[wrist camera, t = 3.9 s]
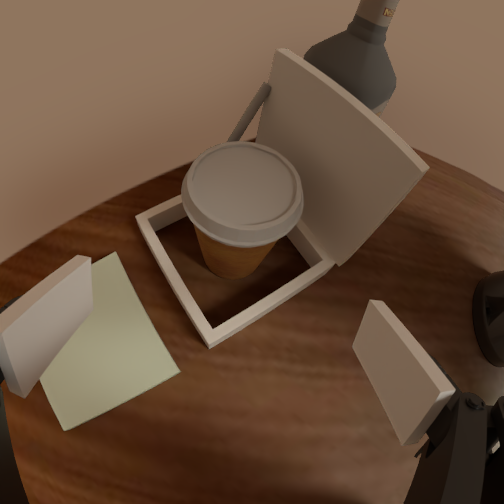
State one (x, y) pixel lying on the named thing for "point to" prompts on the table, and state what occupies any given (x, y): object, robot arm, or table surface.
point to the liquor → (360, 55)
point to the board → (107, 352)
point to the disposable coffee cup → (241, 204)
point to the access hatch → (309, 180)
